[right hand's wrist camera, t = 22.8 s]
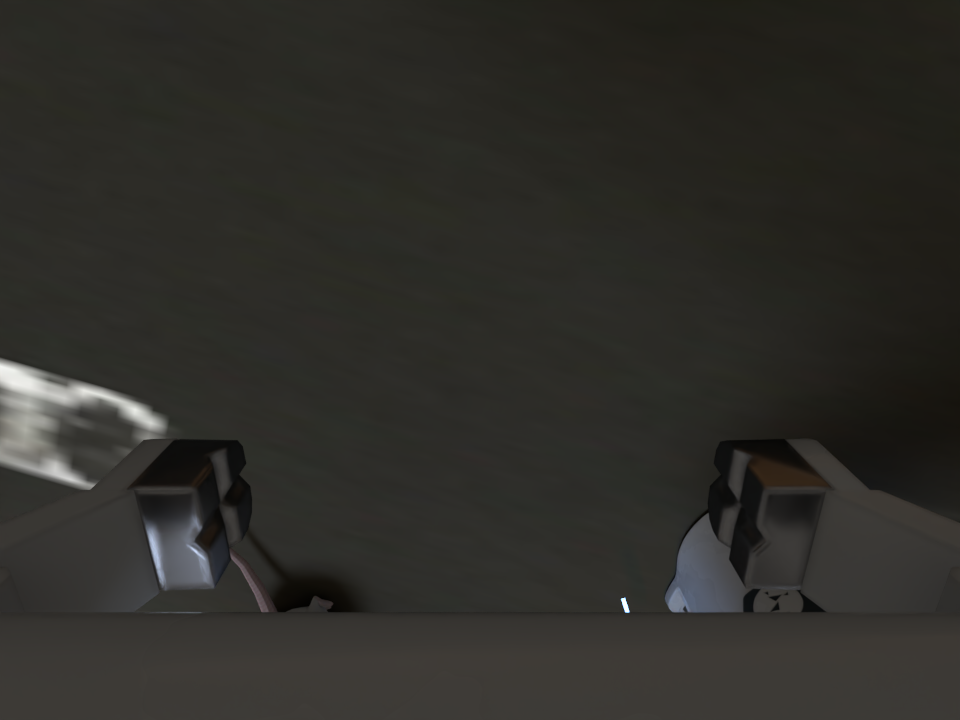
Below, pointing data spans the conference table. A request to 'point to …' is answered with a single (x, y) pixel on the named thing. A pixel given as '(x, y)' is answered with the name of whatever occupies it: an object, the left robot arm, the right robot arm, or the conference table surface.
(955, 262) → the conference table surface
